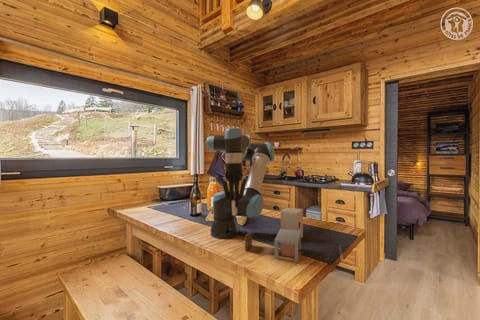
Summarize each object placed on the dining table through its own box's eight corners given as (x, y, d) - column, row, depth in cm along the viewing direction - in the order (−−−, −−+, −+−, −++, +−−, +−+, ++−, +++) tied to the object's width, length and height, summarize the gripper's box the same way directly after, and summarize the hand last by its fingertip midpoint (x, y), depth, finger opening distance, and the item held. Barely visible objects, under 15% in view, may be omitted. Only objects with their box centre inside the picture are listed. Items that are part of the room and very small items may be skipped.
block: (281, 255, 92) (281, 240, 92) (283, 250, 97) (283, 236, 97) (293, 256, 91) (293, 242, 90) (295, 251, 95) (295, 237, 95)
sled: (245, 253, 97) (244, 236, 97) (250, 247, 103) (249, 230, 103) (300, 261, 89) (299, 242, 89) (301, 254, 95) (301, 236, 95)
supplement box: (298, 244, 107) (297, 212, 106) (280, 240, 112) (279, 210, 111) (303, 237, 114) (303, 208, 114) (286, 234, 119) (286, 206, 119)
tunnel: (274, 262, 89) (274, 239, 89) (280, 248, 102) (280, 228, 101) (297, 265, 86) (297, 242, 86) (300, 251, 98) (300, 230, 98)
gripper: (217, 163, 100) (218, 215, 100) (244, 163, 95) (245, 217, 96) (223, 162, 107) (224, 211, 107) (250, 162, 102) (250, 213, 103)
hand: (234, 214), depth 102 cm, fingers closed
